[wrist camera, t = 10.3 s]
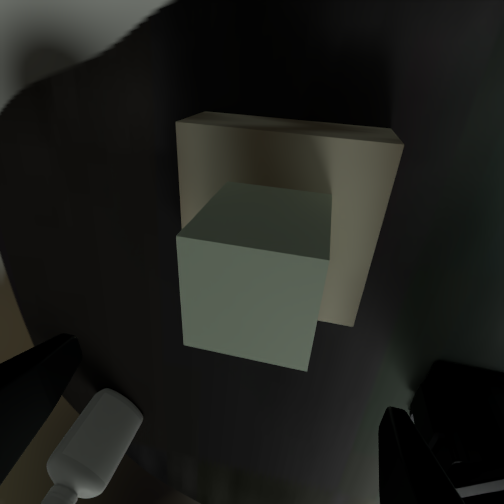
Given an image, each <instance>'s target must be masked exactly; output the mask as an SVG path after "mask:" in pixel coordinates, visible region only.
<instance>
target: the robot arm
mask: <svg viewBox="0 0 504 504" xmlns="http://www.w3.org/2000/svg"><path fill="white" fill-rule="evenodd" d="M81 360H82V352H81V349H80V345H79V342H78V339H77V337H76V336H74V335H70V334H65V333H63V334H60V335H57V336H55V337H53V338H51V339H49V340H47V341H45V342H43V343H41V344H39V345H37V346H35V347H33V348H31V349H29V350H27V351H25V352H23V353H21V354H19V355H17V356H15V357H13V358H11V359H9V360H7V361H5V362H3V363H1V364H0V485H1V484H2V482H3V481H4V479H5V478H6V476H7V475H8V473H9V472H10V471H11V469H12V468H13V466H14V465H15V464H16V462H17V461H18V459H19V458H20V456H21V455H22V454H23V452H24V451H25V449H26V448H27V446H28V445H29V444H30V442H31V441H32V439H33V438H34V437H35V435H36V434H37V432H38V431H39V429H40V428H41V427H42V425H43V424H44V422H45V421H46V419H47V418H48V416H49V415H50V413H51V412H52V411H53V409H54V407H55V406H56V404H57V402H58V401H59V399H60V397H61V395H62V394H63V392H64V390H65V389H66V387H67V385H68V383H69V382H70V380H71V378H72V376H73V375H74V373H75V371H76V369H77V368H78V366H79V364H80V362H81ZM439 368H441V369H439ZM409 414H410V417H409V415H408V414H407V412H406V411H405V410H403V409H400V408H395V407H390V406H389V407H388V408H387V409H386V411H385V413H384V416H383V418H382V420H381V423H380V425H379V433H378V436H379V493H380V504H504V373H500V372H495V371H490V370H485V369H480V368H475V367H470V366H465V365H460V364H455V363H450V362H445V361H437V362H435V363H434V364H433V365H432V367H431V369H430V371H429V373H428V375H427V377H426V379H425V381H424V383H422V384H421V385H420V387H419V389H418V391H417V393H416V395H415V397H414V399H413V401H412V403H411V410H410V413H409ZM413 421H414V423H415V424H414V423H413Z"/></svg>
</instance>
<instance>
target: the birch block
mask: <svg viewBox="0 0 504 504" xmlns="http://www.w3.org/2000/svg"><path fill="white" fill-rule="evenodd" d="M176 137H177V154H178V171H179V188H180V205H181V222H182V229H183V228H184V227H185V226H186V225H187V224H188V223H189V222H190V221H191V220H192V219H193V218H194V216H195V215H196V214H197V213H198V212H199V211H200V210H201V209H202V208H203V207H204V206H205V205H206V204H207V203H208V202H209V200H210V199H211V198H212V197H213V196H214V195H215V194H216V193H217V192H218V191H219V190H220V189H221V188H222V187H223V186H224V185H225V183H226V182H227V181H230V182H237V183H245V184H253V185H261V186H269V187H277V188H285V189H293V190H301V191H309V192H316V193H324V194H332V212H331V237H330V261H329V266H328V271H327V275H326V280H325V285H324V290H323V295H322V300H321V305H320V310H319V315H318V320H319V321H325V322H330V323H335V324H340V325H345V326H351V327H353V325H354V321H355V318H356V314H357V311H358V307H359V304H360V300H361V297H362V293H363V289H364V286H365V282H366V279H367V275H368V272H369V268H370V265H371V261H372V258H373V254H374V251H375V247H376V243H377V240H378V236H379V233H380V229H381V226H382V222H383V219H384V215H385V212H386V208H387V205H388V201H389V197H390V194H391V190H392V187H393V183H394V180H395V176H396V173H397V169H398V166H399V162H400V159H401V155H402V151H403V148H404V144H403V142H402V141H401V140H400V139H399V138H398V136H397V135H396V134H395V133H394V132H393V130H392V129H391V128H380V127H369V126H358V125H348V124H337V123H326V122H315V121H305V120H294V119H283V118H272V117H262V116H251V115H240V114H229V113H219V112H208V111H205V112H202V113H199V114H196V115H193V116H191V117H188V118H185V119H182V120H179V121H176Z"/></svg>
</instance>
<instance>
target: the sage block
mask: <svg viewBox="0 0 504 504" xmlns="http://www.w3.org/2000/svg"><path fill="white" fill-rule="evenodd" d="M331 212H332V194H324V193H316V192H309V191H301V190H293V189H285V188H277V187H269V186H261V185H253V184H245V183H237V182H230V181H227V182H226V183H225V185H224V186H223V187H222V188H221V189H220V190H219V191H218V192H217V193H216V194H215V195H214V196H213V197H212V198H211V199H210V200H209V202H208V203H207V204H206V205H205V206H204V207H203V208H202V209H201V210H200V211H199V212H198V213H197V214H196V215H195V216H194V218H193V219H192V220H191V221H190V222H189V223H188V224H187V225H186V226H185V227H184V228H183V229H182V230H181V231H180V232H179V233H178V235H177V236H176V242H177V256H178V270H179V284H180V298H181V312H182V326H183V341H184V345H187V346H191V347H196V348H200V349H205V350H210V351H214V352H219V353H224V354H228V355H233V356H237V357H242V358H247V359H251V360H256V361H261V362H265V363H270V364H274V365H279V366H284V367H288V368H293V369H298V370H302V371H307V369H308V364H309V359H310V354H311V349H312V344H313V339H314V334H315V329H316V324H317V320H318V315H319V310H320V305H321V300H322V295H323V290H324V285H325V280H326V275H327V271H328V266H329V261H330V237H331Z"/></svg>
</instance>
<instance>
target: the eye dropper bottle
mask: <svg viewBox="0 0 504 504" xmlns="http://www.w3.org/2000/svg"><path fill="white" fill-rule="evenodd" d="M142 421H143V415H142V413H141V412H140V410H139V409H138V408H137V407H136V406H135V405H134V404H133V403H132V402H131V401H130V400H129V399H127V398H126V397H124V396H123V395H121V394H120V393H118V392H116V391H114V390H112V389H109V388H105V389H103V390H101V391H99V392H98V393H96V394H95V395H94V397H93V398H92V400H91V401H90V402H89V404H88V405H87V406H86V408H85V409H84V410H83V412H82V413H81V415H80V416H79V417H78V419H77V420H76V421H75V423H74V424H73V426H72V427H71V428H70V430H69V431H68V432H67V434H66V435H65V436H64V438H63V439H62V441H61V442H60V443H59V445H58V446H57V448H56V449H55V450H54V452H53V453H52V455H51V456H50V458H49V460H48V462H47V471H48V474H49V476H50V477H51V479H52V480H53V482H54V486H52V487H51V489H50V490H49V492H48V493H47V495H46V496H45V498H44V499H43V501H42V502H41V504H75V503H76V501H77V500H78V499H77V497H79V498H92V497H95V496H97V495H99V494H101V493H102V492H103V490H104V489H105V487H106V486H107V484H108V483H109V481H110V479H111V477H112V476H113V474H114V472H115V470H116V468H117V467H118V464H119V463H120V461H121V459H122V458H123V456H124V454H125V452H126V450H127V448H128V447H129V445H130V443H131V441H132V439H133V438H134V436H135V434H136V432H137V430H138V428H139V427H140V425H141V423H142Z"/></svg>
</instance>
